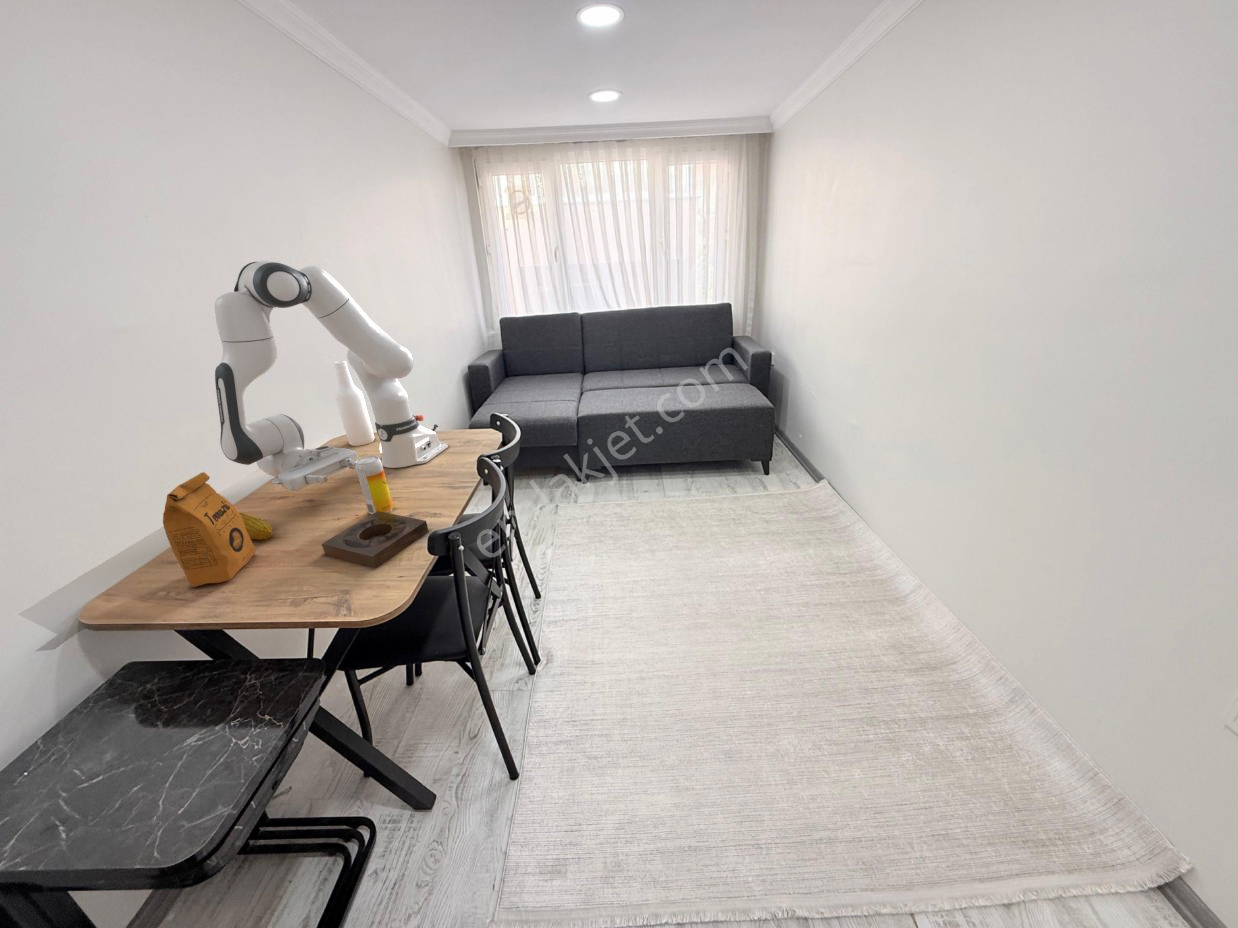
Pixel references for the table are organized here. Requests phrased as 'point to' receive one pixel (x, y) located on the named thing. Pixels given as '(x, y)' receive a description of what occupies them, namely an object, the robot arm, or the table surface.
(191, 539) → the coffee package
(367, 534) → the holder
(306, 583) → the table surface
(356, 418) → the alcohol
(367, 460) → the beer can
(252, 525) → the food
